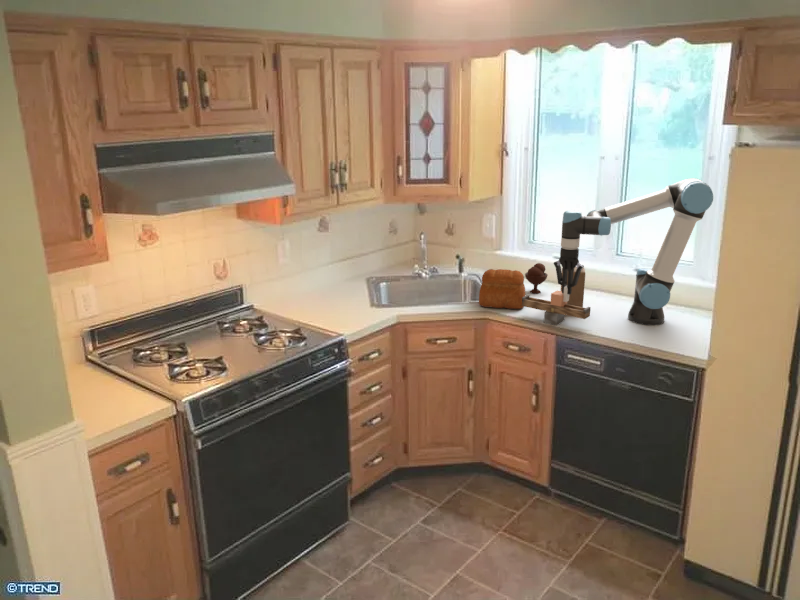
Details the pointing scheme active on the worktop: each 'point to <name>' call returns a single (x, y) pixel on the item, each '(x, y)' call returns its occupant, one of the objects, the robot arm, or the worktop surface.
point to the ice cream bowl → (536, 276)
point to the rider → (557, 299)
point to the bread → (502, 289)
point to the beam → (555, 310)
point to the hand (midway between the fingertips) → (565, 300)
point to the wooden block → (577, 289)
